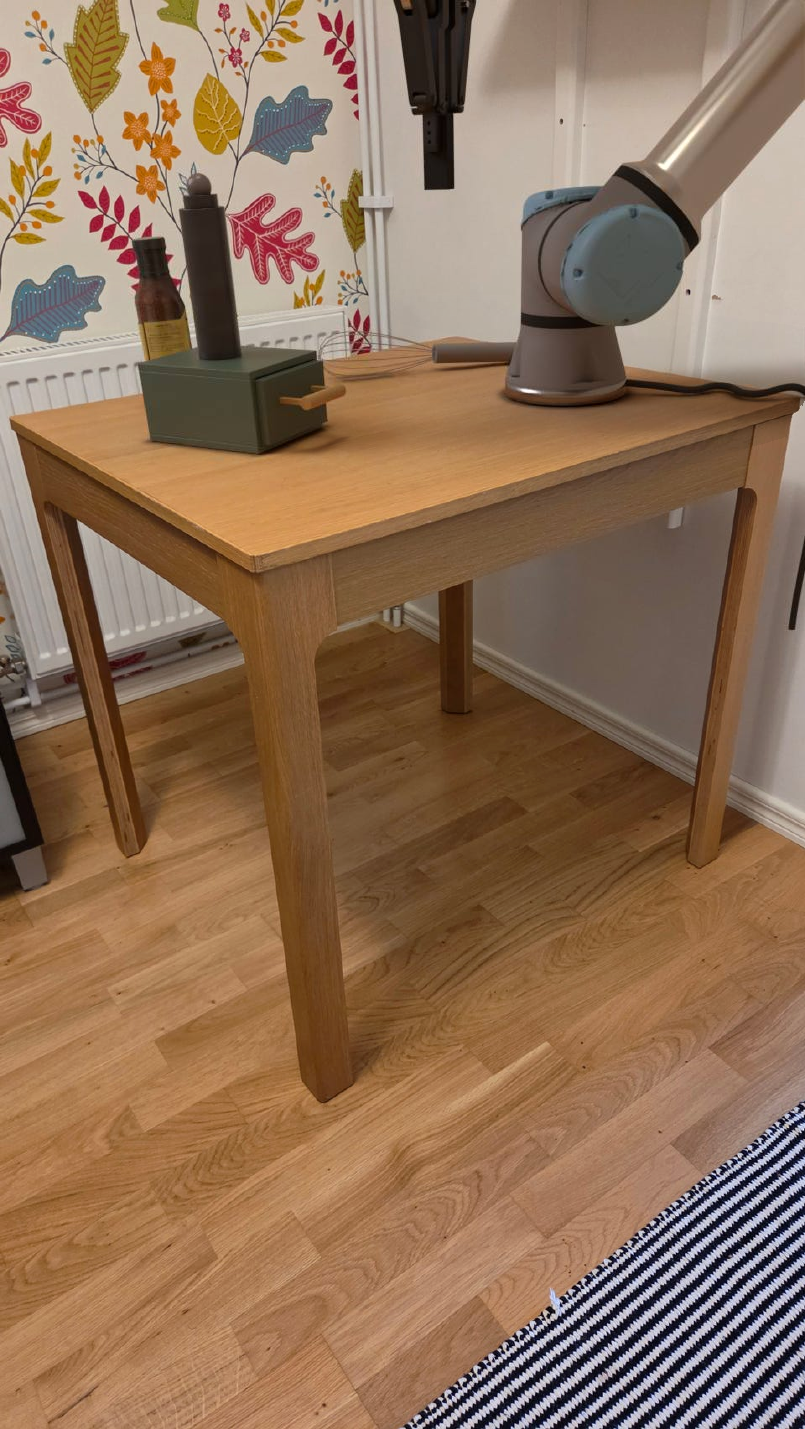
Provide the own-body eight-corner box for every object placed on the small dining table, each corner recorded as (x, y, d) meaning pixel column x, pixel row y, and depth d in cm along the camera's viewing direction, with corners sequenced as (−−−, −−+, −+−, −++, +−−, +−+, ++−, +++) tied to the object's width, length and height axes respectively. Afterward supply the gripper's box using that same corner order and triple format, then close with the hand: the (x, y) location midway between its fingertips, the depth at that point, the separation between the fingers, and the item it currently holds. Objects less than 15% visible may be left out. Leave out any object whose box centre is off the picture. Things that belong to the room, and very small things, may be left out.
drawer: (359, 424, 113) (355, 362, 110) (302, 449, 105) (296, 383, 102) (229, 411, 122) (222, 353, 118) (167, 433, 113) (157, 372, 110)
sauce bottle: (210, 401, 131) (187, 235, 121) (171, 411, 127) (145, 240, 117) (180, 395, 135) (155, 234, 125) (141, 404, 131) (113, 239, 121)
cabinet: (322, 426, 117) (316, 350, 112) (258, 454, 107) (249, 372, 103) (218, 416, 124) (209, 343, 119) (150, 441, 114) (137, 363, 110)
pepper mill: (250, 353, 112) (229, 171, 103) (223, 361, 109) (200, 173, 100) (217, 351, 115) (194, 172, 105) (190, 359, 111) (164, 174, 102)
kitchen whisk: (551, 363, 144) (552, 317, 141) (324, 387, 137) (320, 339, 134) (535, 356, 149) (536, 311, 146) (315, 379, 142) (311, 332, 139)
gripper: (431, -90, 96) (436, 186, 107) (360, -112, 86) (375, 194, 98) (502, -101, 92) (499, 185, 104) (436, -126, 83) (442, 193, 94)
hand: (439, 189), depth 101 cm, fingers closed
